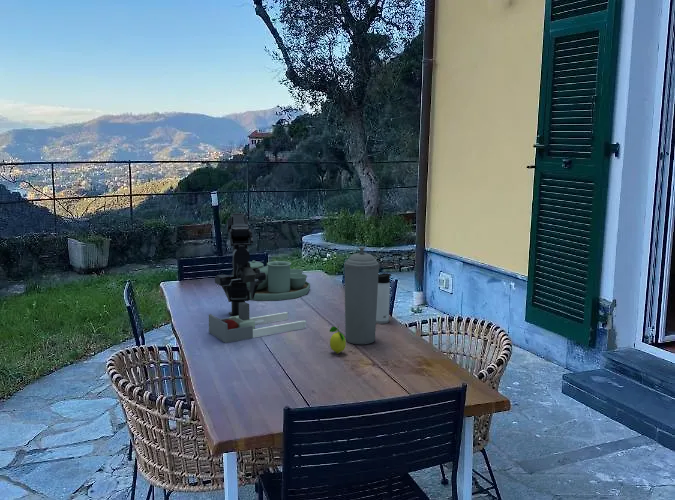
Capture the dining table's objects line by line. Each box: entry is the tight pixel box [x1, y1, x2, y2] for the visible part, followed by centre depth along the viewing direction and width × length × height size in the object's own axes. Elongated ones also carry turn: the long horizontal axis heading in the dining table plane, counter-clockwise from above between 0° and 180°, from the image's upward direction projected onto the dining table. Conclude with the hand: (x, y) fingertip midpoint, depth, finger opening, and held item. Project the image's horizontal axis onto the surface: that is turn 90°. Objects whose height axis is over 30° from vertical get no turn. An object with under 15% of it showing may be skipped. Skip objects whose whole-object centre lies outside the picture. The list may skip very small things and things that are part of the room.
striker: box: [228, 301, 264, 329], centre depth 228 cm, size 10×12×11 cm
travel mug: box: [376, 273, 392, 325], centre depth 244 cm, size 6×7×20 cm
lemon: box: [329, 325, 347, 355], centre depth 206 cm, size 7×6×10 cm
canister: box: [343, 246, 380, 345], centre depth 218 cm, size 13×13×35 cm
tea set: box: [231, 259, 311, 302], centre depth 294 cm, size 40×40×16 cm
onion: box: [224, 319, 239, 330], centre depth 225 cm, size 6×6×8 cm
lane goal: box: [208, 311, 307, 344], centre depth 231 cm, size 15×34×7 cm, turn 124°
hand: (241, 300), depth 225 cm, fingers open, 9 cm apart
